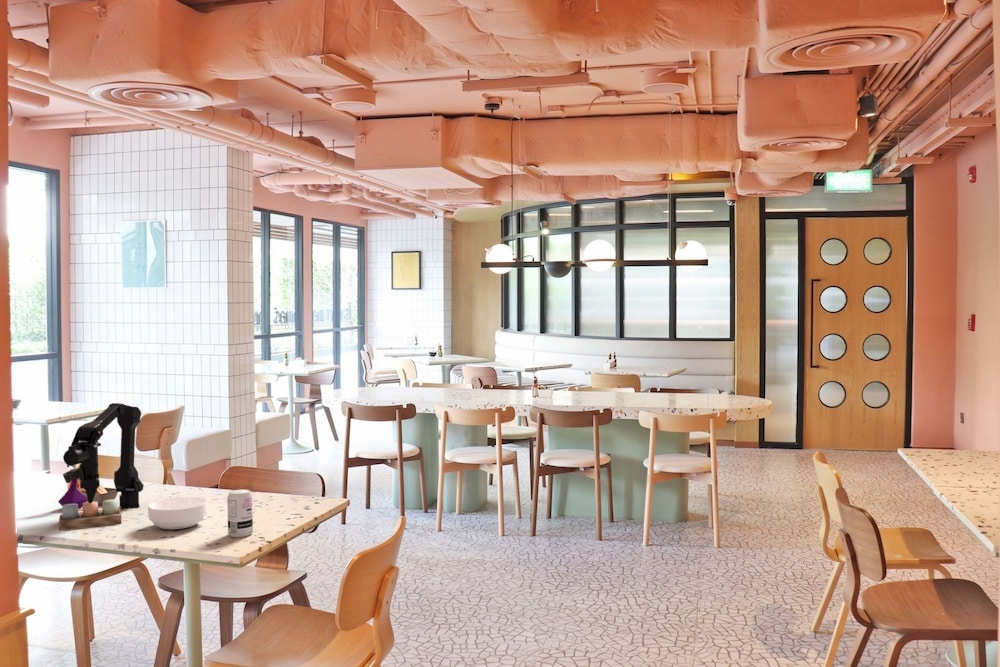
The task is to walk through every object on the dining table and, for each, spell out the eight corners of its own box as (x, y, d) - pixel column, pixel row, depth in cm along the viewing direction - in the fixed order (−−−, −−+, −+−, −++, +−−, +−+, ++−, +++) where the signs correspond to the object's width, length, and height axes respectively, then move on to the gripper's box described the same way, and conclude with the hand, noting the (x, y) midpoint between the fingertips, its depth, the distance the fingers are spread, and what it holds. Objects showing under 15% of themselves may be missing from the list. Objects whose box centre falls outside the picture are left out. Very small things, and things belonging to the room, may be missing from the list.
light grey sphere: (78, 515, 295) (77, 502, 295) (78, 518, 290) (77, 505, 290) (62, 517, 292) (62, 504, 292) (62, 520, 288) (62, 507, 288)
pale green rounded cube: (117, 511, 301) (117, 498, 300) (117, 514, 296) (117, 501, 296) (102, 513, 298) (102, 500, 298) (102, 516, 294) (102, 503, 294)
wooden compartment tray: (120, 516, 304) (120, 508, 304) (121, 523, 294) (121, 515, 293) (60, 522, 295) (59, 514, 295) (59, 530, 284) (58, 522, 284)
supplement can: (231, 531, 282) (230, 489, 281) (255, 531, 282) (254, 488, 282) (225, 538, 274) (224, 494, 273) (250, 537, 274) (249, 493, 274)
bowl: (142, 525, 291) (142, 501, 291) (198, 516, 303) (198, 494, 303) (156, 537, 276) (155, 512, 275) (214, 527, 287) (214, 504, 287)
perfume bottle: (88, 506, 319) (87, 461, 318) (72, 511, 312) (71, 465, 311) (73, 505, 321) (72, 460, 321) (57, 509, 314) (56, 464, 314)
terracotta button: (98, 513, 298) (97, 500, 297) (98, 516, 293) (97, 503, 293) (82, 515, 295) (82, 502, 295) (82, 518, 291) (82, 505, 291)
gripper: (64, 458, 298) (65, 500, 299) (63, 466, 282) (64, 511, 282) (98, 455, 303) (99, 496, 304) (99, 463, 287) (100, 507, 287)
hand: (90, 502), depth 294 cm, fingers closed
